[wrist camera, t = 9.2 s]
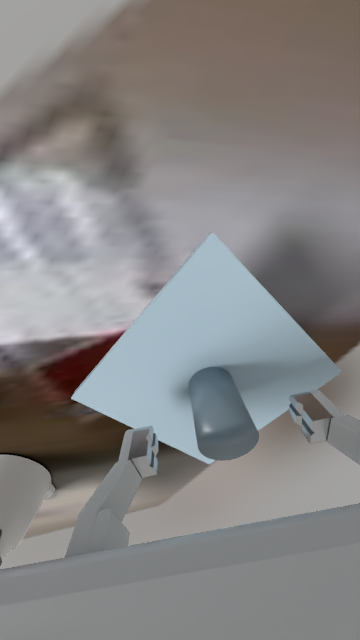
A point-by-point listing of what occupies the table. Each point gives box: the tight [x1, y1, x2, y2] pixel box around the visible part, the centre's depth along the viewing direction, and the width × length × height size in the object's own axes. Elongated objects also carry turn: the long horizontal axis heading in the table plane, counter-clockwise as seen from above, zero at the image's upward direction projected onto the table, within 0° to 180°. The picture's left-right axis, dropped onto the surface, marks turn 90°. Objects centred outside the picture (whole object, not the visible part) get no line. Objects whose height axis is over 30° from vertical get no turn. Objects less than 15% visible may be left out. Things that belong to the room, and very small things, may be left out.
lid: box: [71, 232, 342, 465], centre depth 11 cm, size 14×14×5 cm
